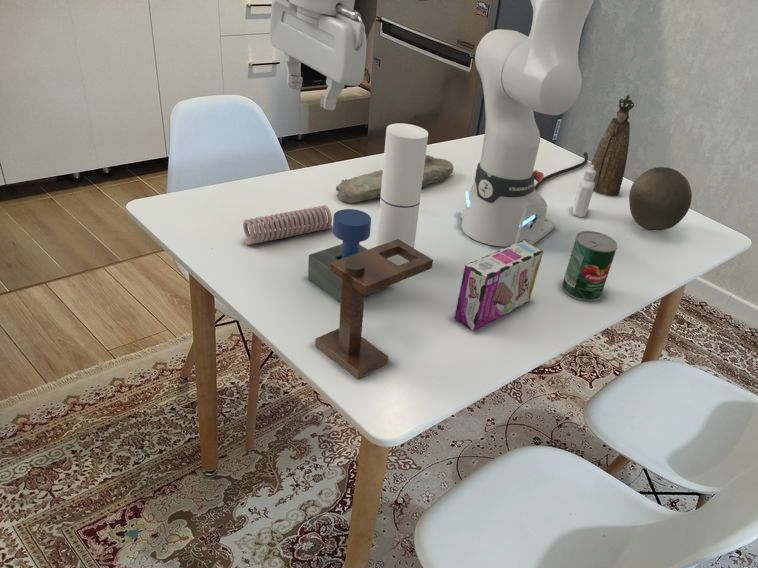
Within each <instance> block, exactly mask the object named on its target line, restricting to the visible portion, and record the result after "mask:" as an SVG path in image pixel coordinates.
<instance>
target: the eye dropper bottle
mask: <svg viewBox="0 0 758 568" xmlns="http://www.w3.org/2000/svg"><path fill="white" fill-rule="evenodd" d="M590 165H591V164H590ZM590 165H589V168H586V169H585V171H584V175H583V178H582V179H581V180H580V182H579V185H578V187H577V192H576V196H575V199H574V203H573V208H572V214H573V216H575V217H579V218H584V217H586V216H587V213H588V209H589V207H590V204H591V199H592V196H593V193H594V191H593V189H594V185H595V184H594V181H593V180H594V178H595V174H596V171H595V170H594V165H591V166H590Z"/></svg>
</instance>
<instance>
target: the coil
mask: <svg viewBox="0 0 758 568" xmlns="http://www.w3.org/2000/svg"><path fill="white" fill-rule="evenodd" d="M242 227H243V228H242V229H243V232H244V235H245V237H246V239H244V241H243V242H244V243H245V244H246V245H247V246H251V245H256V244H261V243H265V242H271V241H275V240H278V239H279V240H280V239H287V237H288V238H290V237H296V236H298V235H299V236H300V235H305V234H309V233H314V232H319V231H324V230H328V229H332V228H333V217H332V212H331V210H330V208H329V207H328V205H326V204H324V205H323V204H322V205H318V206H313V207H308V208H303V209H298V210H297V209H296V210H290V211H285V212H280V213H275V214H269V215H265V216H259V217H258V216H256V217H254V218H253V217H251V218H246V219H244V220H243V222H242Z"/></svg>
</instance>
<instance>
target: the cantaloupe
mask: <svg viewBox="0 0 758 568" xmlns="http://www.w3.org/2000/svg"><path fill="white" fill-rule="evenodd" d="M692 195H693V193H692V189H691V185H690V182H689V180H688V179H687V178H686V177H685V176H684V175H683V174H682V173H681V172H680V171H678V170H676V169H674V168H672V167H666V166H658V167H656V166H655V167H652V168H649V169H647V170H646V171H643V172H642V173H640V175H639V176H638V177H637V178H636V179H635V180H634V182H633V183H632V184H631V187H630V189H629V194H628V203H629V212H630V215H631V217H632V219H633V221H634V222H635V223H636V224H637V225H638V226H639V227H641V228H643V229H644V230H647V231H650V232H651V231H652V232H655V231H656V232H658V231H659V232H661V231H666V230H669V229H672V228H673V227H675V226H676V225H678V224H679V223H680V222H681V221H682V220H683V219H684V218H685V217H686V215H687V213H688V212H689V211H690V207H691V204H692V197H693V196H692Z"/></svg>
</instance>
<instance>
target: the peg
mask: <svg viewBox="0 0 758 568" xmlns="http://www.w3.org/2000/svg"><path fill="white" fill-rule="evenodd" d="M371 227H372V216H371V215H369V214H368V213H367V212H365V211H363V210H359V209H354V208H344V209H340V210H337V211H336V212H334V214H333V217H332V235H333V236H334V237H335V238H337V239H338V240H341V241H342V244H343V245H342V258H345V257H348V256H351V255H354V254H357V253H359V244H360V243H361V242H364V241H367V240H368V239H369V238H370V236H371Z"/></svg>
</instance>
